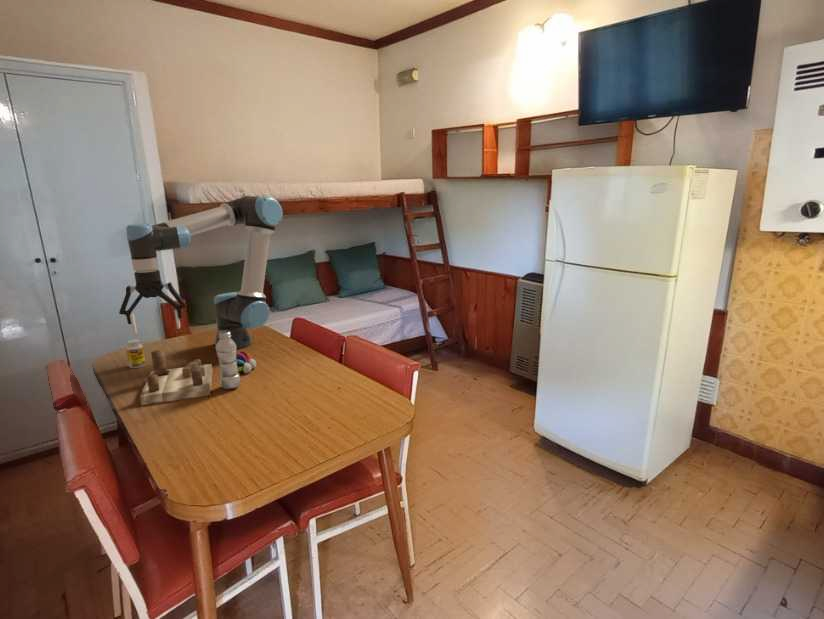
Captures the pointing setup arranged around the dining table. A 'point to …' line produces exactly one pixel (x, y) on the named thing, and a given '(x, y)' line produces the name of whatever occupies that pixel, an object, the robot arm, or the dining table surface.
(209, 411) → the dining table surface
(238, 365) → the multicoloured ball
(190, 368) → the folding leg
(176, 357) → the dining table surface
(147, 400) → the board
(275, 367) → the dining table surface
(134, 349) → the supplement bottle
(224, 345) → the plastic bottle
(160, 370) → the loose leg
